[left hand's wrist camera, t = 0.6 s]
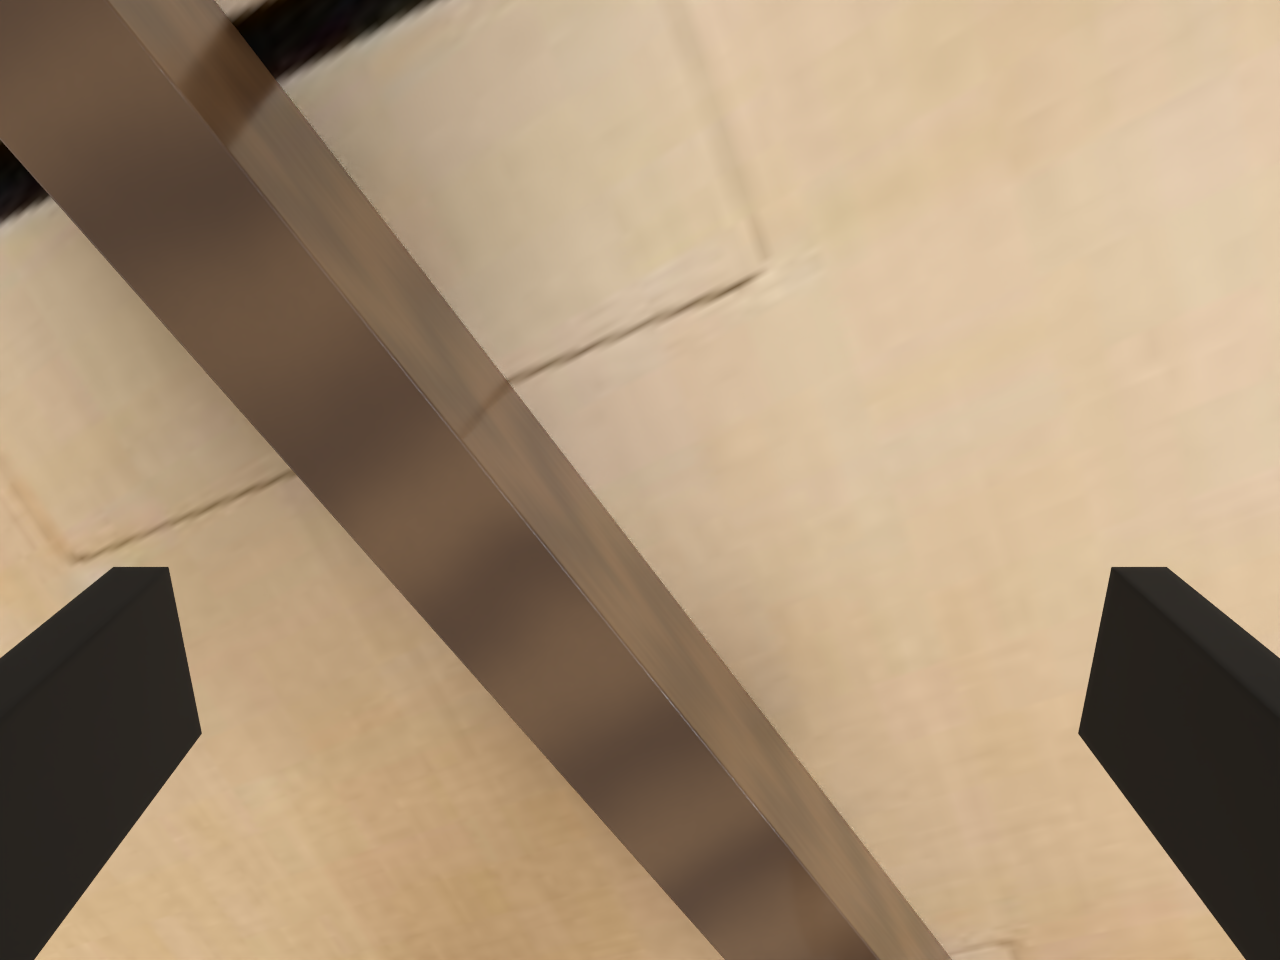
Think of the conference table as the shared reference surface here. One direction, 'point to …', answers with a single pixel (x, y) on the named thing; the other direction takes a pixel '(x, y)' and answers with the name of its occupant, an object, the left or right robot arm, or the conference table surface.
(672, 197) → the conference table surface
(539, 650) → the post
